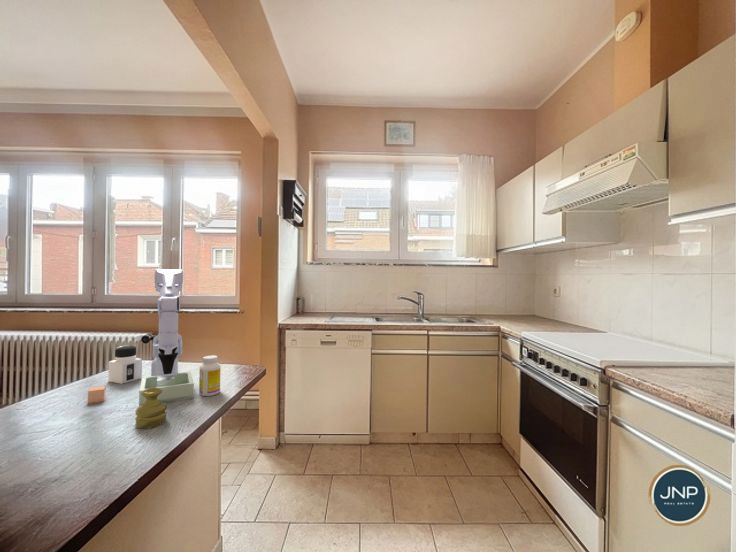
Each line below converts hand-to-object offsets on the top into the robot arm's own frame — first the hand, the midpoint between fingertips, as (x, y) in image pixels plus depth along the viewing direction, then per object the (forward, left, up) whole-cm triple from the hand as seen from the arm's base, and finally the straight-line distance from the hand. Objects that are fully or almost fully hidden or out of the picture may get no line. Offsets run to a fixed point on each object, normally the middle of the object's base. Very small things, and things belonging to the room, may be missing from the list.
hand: (167, 370), depth 113 cm
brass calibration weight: (+17, -15, -9) cm, 24 cm away
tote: (0, 0, -8) cm, 8 cm away
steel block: (0, 0, -7) cm, 7 cm away
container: (-29, +1, -9) cm, 30 cm away
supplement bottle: (+11, +8, -9) cm, 16 cm away
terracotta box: (-14, -14, -8) cm, 22 cm away
